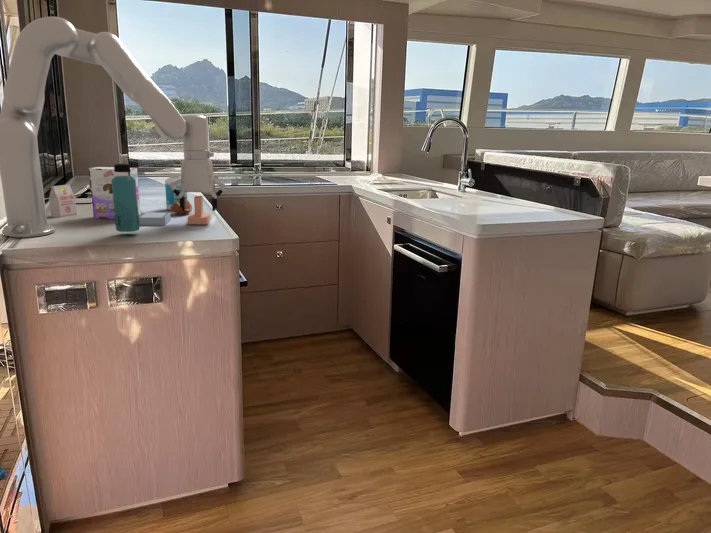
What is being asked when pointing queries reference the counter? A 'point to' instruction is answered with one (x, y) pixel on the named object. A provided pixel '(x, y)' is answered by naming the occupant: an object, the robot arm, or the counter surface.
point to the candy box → (107, 190)
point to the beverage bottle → (125, 200)
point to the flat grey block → (154, 218)
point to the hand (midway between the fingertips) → (199, 210)
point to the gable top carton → (62, 201)
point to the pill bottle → (170, 195)
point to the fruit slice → (177, 209)
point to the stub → (198, 213)
